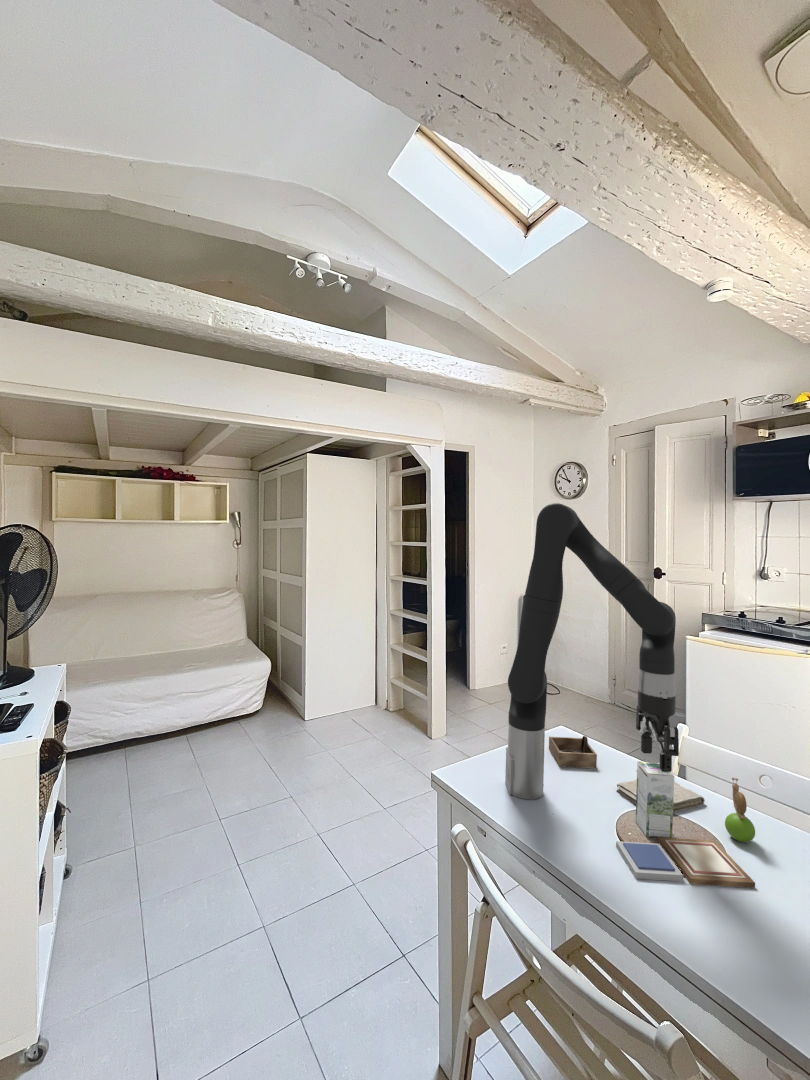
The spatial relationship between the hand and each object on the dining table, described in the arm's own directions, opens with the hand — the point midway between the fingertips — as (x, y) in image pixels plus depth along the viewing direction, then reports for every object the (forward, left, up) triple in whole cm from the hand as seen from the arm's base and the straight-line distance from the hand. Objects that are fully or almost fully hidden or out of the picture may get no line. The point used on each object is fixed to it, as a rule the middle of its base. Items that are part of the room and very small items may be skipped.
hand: (655, 761), depth 102 cm
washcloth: (+8, +14, -16) cm, 23 cm away
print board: (+5, -10, -16) cm, 19 cm away
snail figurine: (+18, -1, -16) cm, 24 cm away
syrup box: (0, 0, -16) cm, 16 cm away
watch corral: (-8, +33, -16) cm, 37 cm away
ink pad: (-7, -11, -16) cm, 20 cm away
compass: (-8, +32, -16) cm, 37 cm away
